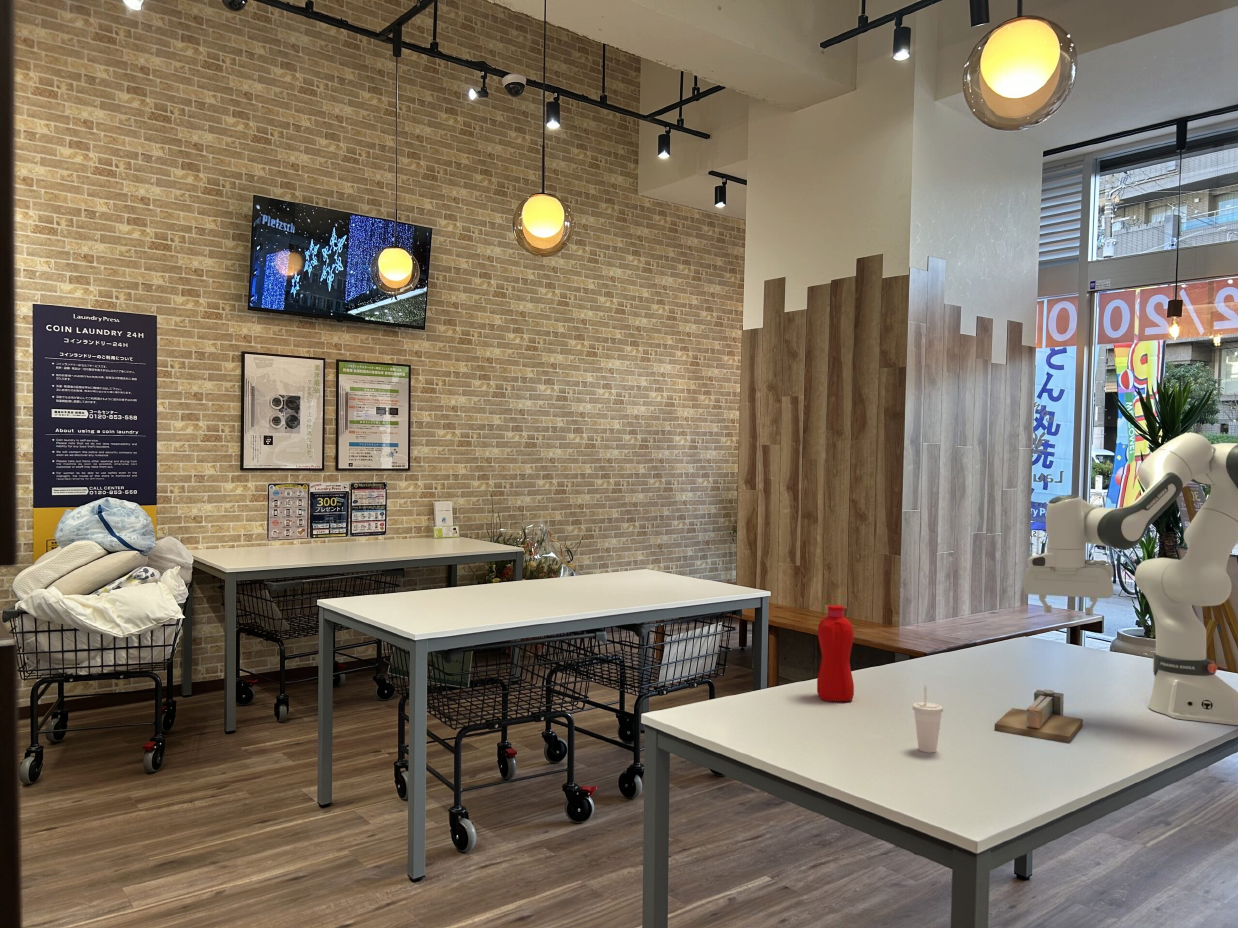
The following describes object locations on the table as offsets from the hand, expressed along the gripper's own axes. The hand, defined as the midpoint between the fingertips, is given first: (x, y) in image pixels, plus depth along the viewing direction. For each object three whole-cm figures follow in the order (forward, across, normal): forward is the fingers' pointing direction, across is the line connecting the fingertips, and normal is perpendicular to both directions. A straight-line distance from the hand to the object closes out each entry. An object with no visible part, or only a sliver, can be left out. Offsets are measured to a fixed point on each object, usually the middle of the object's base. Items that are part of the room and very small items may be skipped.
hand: (1068, 613), depth 223 cm
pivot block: (+25, +4, +6) cm, 26 cm away
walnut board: (+25, +4, +18) cm, 31 cm away
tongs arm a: (+23, +4, +17) cm, 29 cm away
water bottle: (+23, +54, +21) cm, 63 cm away
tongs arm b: (+23, +5, +17) cm, 29 cm away
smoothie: (+23, +21, +52) cm, 60 cm away
